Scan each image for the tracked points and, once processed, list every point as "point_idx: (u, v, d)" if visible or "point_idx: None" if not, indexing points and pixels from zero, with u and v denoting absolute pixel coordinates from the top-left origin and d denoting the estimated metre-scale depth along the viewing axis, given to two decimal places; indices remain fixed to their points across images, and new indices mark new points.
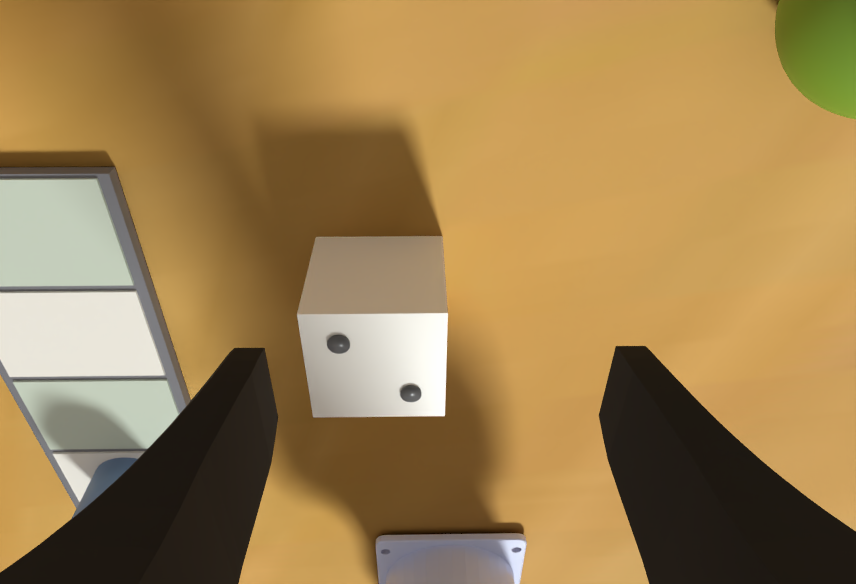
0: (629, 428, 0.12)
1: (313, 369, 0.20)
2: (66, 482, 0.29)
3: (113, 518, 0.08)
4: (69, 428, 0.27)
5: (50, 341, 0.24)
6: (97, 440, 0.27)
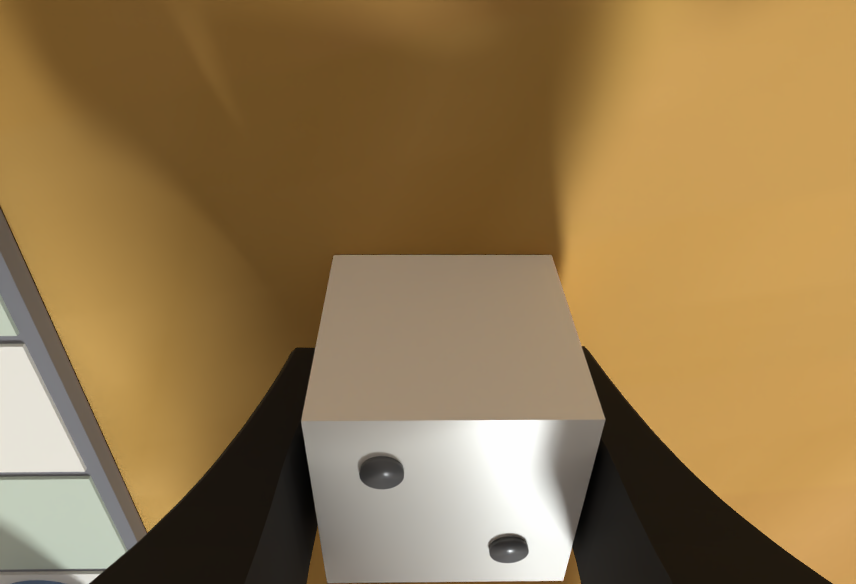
0: None
1: (330, 512, 0.10)
2: None
3: (205, 517, 0.08)
4: None
5: None
6: None
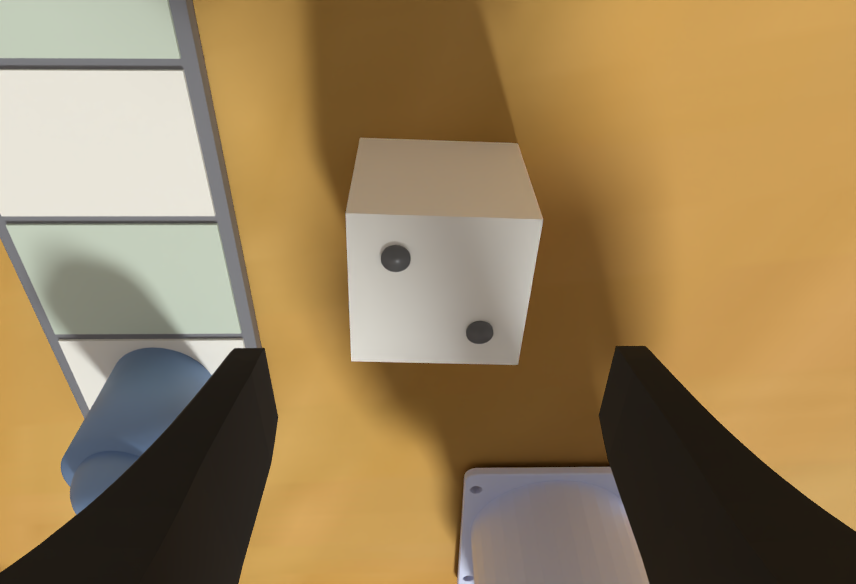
0: (629, 428, 0.12)
1: (358, 294, 0.15)
2: (75, 385, 0.22)
3: (113, 518, 0.08)
4: (81, 301, 0.20)
5: (58, 157, 0.17)
6: (118, 320, 0.20)
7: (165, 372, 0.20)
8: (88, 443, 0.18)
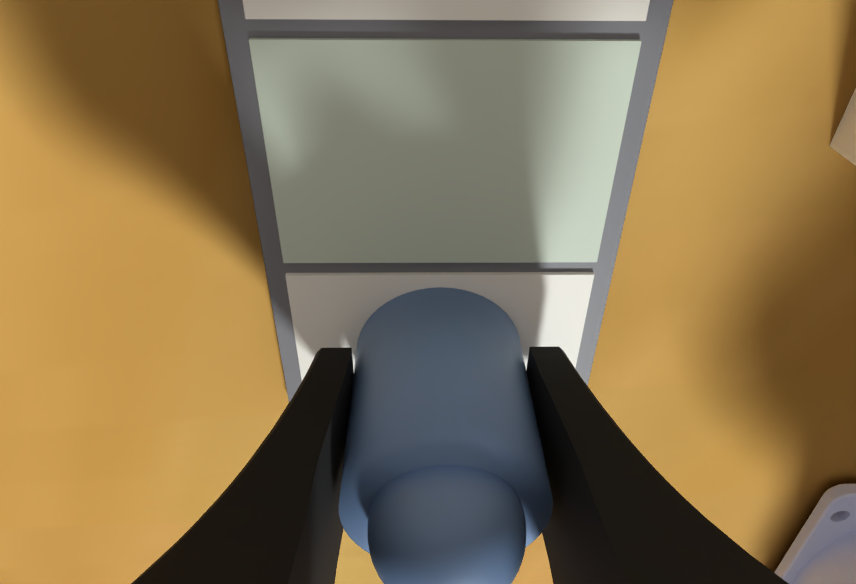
0: None
1: None
2: (290, 354, 0.14)
3: (243, 517, 0.08)
4: (346, 199, 0.11)
5: None
6: (398, 237, 0.12)
7: (479, 325, 0.12)
8: (412, 450, 0.09)
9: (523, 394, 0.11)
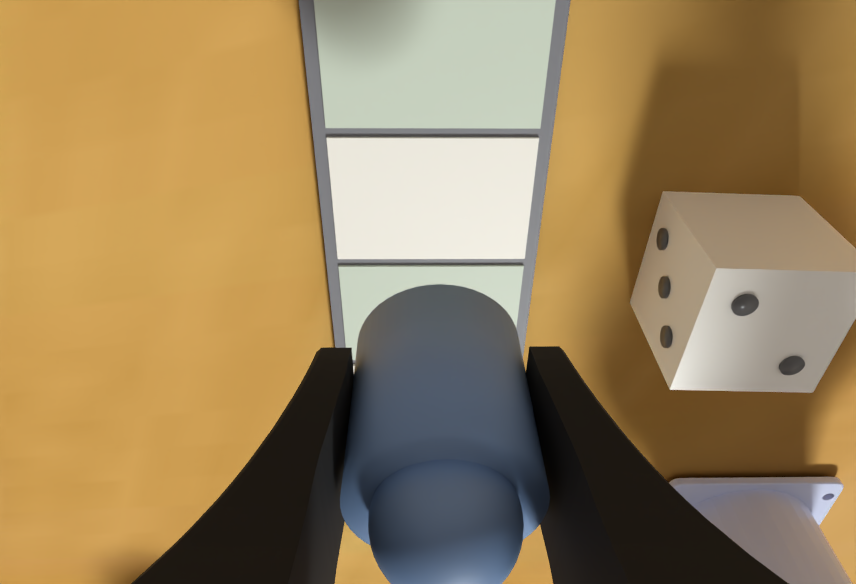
0: (538, 429, 0.12)
1: (700, 333, 0.18)
2: None
3: (243, 516, 0.08)
4: None
5: (404, 209, 0.20)
6: None
7: (478, 323, 0.12)
8: (412, 445, 0.10)
9: (521, 390, 0.11)
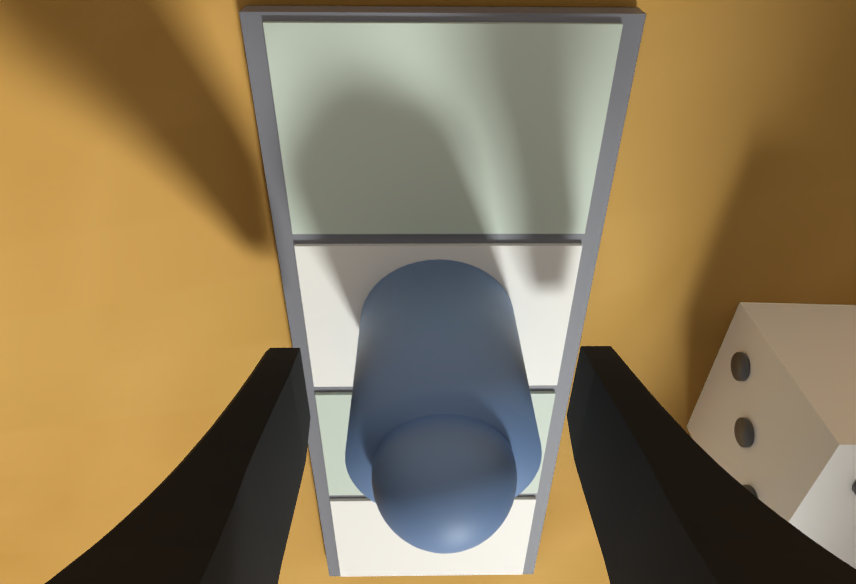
0: (592, 428, 0.12)
1: (804, 516, 0.13)
2: (330, 540, 0.20)
3: (166, 517, 0.08)
4: None
5: None
6: None
7: (476, 293, 0.13)
8: (413, 399, 0.10)
9: (515, 355, 0.12)
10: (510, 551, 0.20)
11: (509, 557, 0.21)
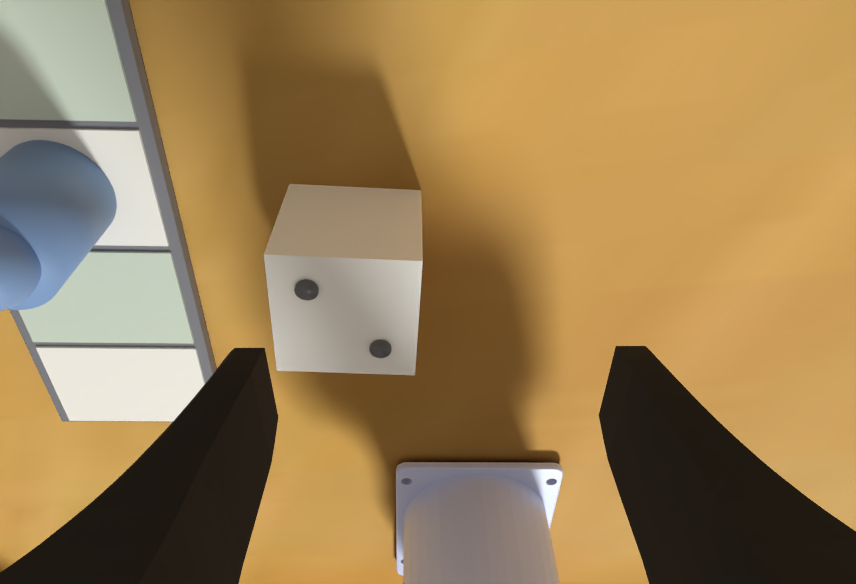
0: (629, 428, 0.12)
1: (279, 317, 0.19)
2: (50, 386, 0.26)
3: (113, 518, 0.08)
4: (56, 314, 0.23)
5: None
6: (87, 331, 0.24)
7: (50, 159, 0.19)
8: None
9: (61, 196, 0.18)
10: None
11: None
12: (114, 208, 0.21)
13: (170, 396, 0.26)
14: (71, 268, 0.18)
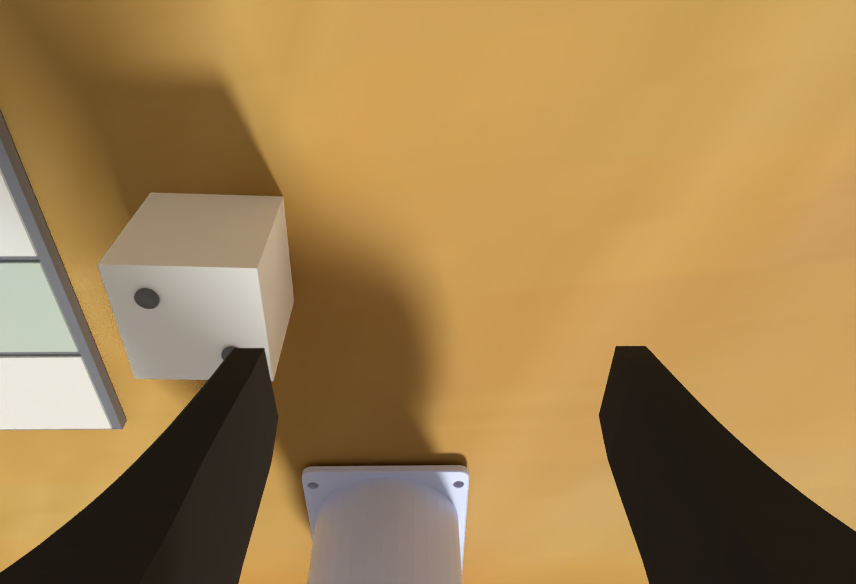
0: (629, 428, 0.12)
1: (125, 325, 0.19)
2: None
3: (113, 517, 0.08)
4: None
5: None
6: None
7: None
8: None
9: None
10: (88, 406, 0.26)
11: (91, 412, 0.27)
12: None
13: (63, 404, 0.26)
14: None
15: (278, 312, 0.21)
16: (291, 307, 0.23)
